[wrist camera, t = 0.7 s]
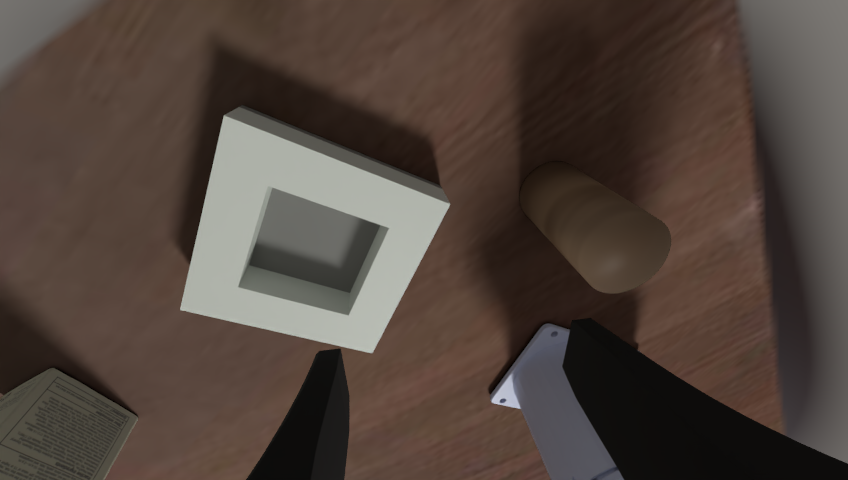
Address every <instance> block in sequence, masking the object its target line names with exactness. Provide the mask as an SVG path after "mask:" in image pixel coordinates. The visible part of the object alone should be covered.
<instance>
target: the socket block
mask: <svg viewBox="0 0 848 480" xmlns="http://www.w3.org/2000/svg"><path fill="white" fill-rule="evenodd" d="M449 206H450V203H449V201H448V199H447V197H446V195H445V193H444V191H443V189H442V187H441V186H440V185H438V184H435V183H433V182H430V181H428V180H425V179H423V178H421V177H418V176H416V175H413V174H411V173H408V172H406V171H403V170H401V169H398V168H396V167H393V166H391V165H389V164H386V163H384V162H381V161H379V160H376V159H374V158H371V157H369V156H366V155H364V154H362V153H359V152H357V151H354V150H352V149H349V148H347V147H344V146H342V145H339V144H337V143H334V142H332V141H330V140H327V139H325V138H322V137H320V136H317V135H315V134H312V133H310V132H307V131H305V130H303V129H300V128H298V127H295V126H293V125H290V124H288V123H285V122H283V121H280V120H278V119H276V118H273V117H271V116H268V115H266V114H263V113H261V112H258V111H256V110H253V109H251V108H248V107H246V106H244V105H242V106H240V107H238V108H236V109H234V110H233V111H231V112H229V113H227V114H225V115H224V117H223V121H222V126H221V130H220V135H219V139H218V144H217V148H216V153H215V157H214V161H213V166H212V170H211V175H210V179H209V184H208V188H207V193H206V197H205V201H204V206H203V210H202V215H201V219H200V224H199V228H198V233H197V237H196V241H195V246H194V250H193V255H192V259H191V264H190V268H189V273H188V277H187V281H186V286H185V290H184V295H183V299H182V304H181V308H180V310H183V311H188V312H192V313H196V314H201V315H205V316H210V317H214V318H218V319H223V320H227V321H232V322H236V323H240V324H245V325H249V326H254V327H258V328H262V329H267V330H271V331H276V332H280V333H285V334H289V335H293V336H298V337H302V338H307V339H311V340H315V341H320V342H324V343H329V344H333V345H337V346H342V347H346V348H351V349H355V350H359V351H364V352H368V353H373V351H374V349H375V347H376V345H377V343H378V341H379V340H380V338H381V336H382V334H383V332H384V330H385V328H386V326H387V324H388V322H389V320H390V319H391V317H392V315H393V313H394V311H395V309H396V307H397V305H398V303H399V301H400V299H401V298H402V296H403V294H404V292H405V290H406V288H407V286H408V284H409V282H410V280H411V278H412V277H413V275H414V273H415V271H416V269H417V267H418V265H419V263H420V261H421V259H422V257H423V255H424V254H425V252H426V250H427V248H428V246H429V244H430V242H431V240H432V238H433V236H434V234H435V233H436V231H437V229H438V227H439V225H440V223H441V221H442V219H443V217H444V215H445V213H446V212H447V210H448V208H449Z"/></svg>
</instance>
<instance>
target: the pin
mask: <svg viewBox="0 0 848 480" xmlns="http://www.w3.org/2000/svg"><path fill="white" fill-rule="evenodd" d="M519 201H520V206H521V208H522V210H523V212H524V213H525V214H526V216H527V217H528V218H529V219H530V220H531V221H532V222H533V223H534V224H535V225H536V226H537V228H538V229H539V230H540V231H541V232H542V233H543V234H544V235H545V236H546V237H547V238H548V240H549V241H550V242H551V243H552V244H553V245H554V246H555V247H556V248H557V249H558V251H559V252H560V253H561V254H562V255H563V256H564V257H565V258H566V259H567V260H568V261H569V263H570V264H571V265H572V266H573V267H574V268H575V269H576V270H577V271H578V272H579V274H580V275H581V276H582V277H583V278H584V279H585V280H586V281H587V282H588V283H589V284H590V285H591V286H592V287H593V288H594V289H596V290H598V291H600V292H603V293H621V292H626V291H629V290H631V289H634V288H636V287H638V286H640V285H642V284H643V283H645V282H646V281H647V280H649V279H650V278H651V277H652V276H653V275H654V274H655V273H656V272H657V271H658V270H659V269H660V268H661V266H662V265H663V263H664V262H665V260H666V258H667V256H668V253H669V251H670V246H671V235H670V232H669V229H668V227H667V226H666V225H665V224H664V223H663V222H662V221H661V220H659V219H657V218H656V217H654V216H653V215H651V214H649V213H648V212H646V211H644V210H643V209H641V208H640V207H638V206H636V205H635V204H633V203H632V202H630V201H628V200H627V199H625V198H623V197H622V196H620V195H619V194H617V193H615V192H614V191H612V190H610V189H609V188H607V187H606V186H604V185H602V184H601V183H599V182H597V181H596V180H594V179H593V178H591V177H589V176H588V175H586V174H584V173H583V172H581V171H580V170H578V169H576V168H575V167H573V166H571V165H570V164H568V163H565V162H561V161H553V162H548V163H545V164H543V165H541V166H539V167H537V168H536V169H534V170H533V171H532V172H531V173H530V174H529V175H528V176H527V178H526V179H525V181H524V182H523V184H522V187H521V190H520V195H519Z"/></svg>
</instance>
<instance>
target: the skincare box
mask: <svg viewBox="0 0 848 480" xmlns="http://www.w3.org/2000/svg"><path fill="white" fill-rule="evenodd" d="M137 420H138V417H137V416H136V415H134V414H133V413H131V412H129V411H128V410H126V409H124V408H123V407H121V406H119V405H118V404H116V403H114V402H113V401H111V400H109V399H107V398H106V397H104V396H102V395H100V394H99V393H97V392H95V391H94V390H92V389H90V388H89V387H87V386H86V385H84V384H82V383H81V382H79V381H77V380H75V379H73V378H71V377H69V376H67V375H65V374H64V373H62V372H60V371H59V370H57V369H55V368H50V369H48V370H46V371H45V372H43V373H41V374H39V375H37V376H35V377H34V378H32V379H30V380H28V381H27V382H25V383H23V384H21V385H20V386H18V387H16V388H15V389H13V390H11V391H10V392H8V393H7V394H5V395H3V396H2V397H0V480H104V479H105V478H106V476H107V474H108V472H109V470H110V469H111V467H112V465H113V463H114V461H115V459H116V458H117V456H118V454H119V452H120V451H121V449H122V447H123V445H124V443H125V442H126V440H127V438H128V436H129V434H130V433H131V431H132V429H133V427H134V425H135V424H136V422H137Z"/></svg>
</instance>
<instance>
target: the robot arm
mask: <svg viewBox="0 0 848 480" xmlns="http://www.w3.org/2000/svg"><path fill="white" fill-rule="evenodd" d="M552 332H553V333H552ZM490 399H491V402H492V403H494V404H499V405H504V406H509V407H514V408H519V409H521V410H522V413H523V415H524V417H525V420H526V422H527V424H528V427H529V429H530V431H531V434H532V436H533V439H534V441H535V443H536V446H537V448H538V450H539V453H540V455H541V457H542V460H543V462H544V464H545V467H546V469H547V472H548V474H549V476H550V479H551V480H848V464H847V463H845V462H842V461H840V460H838V459H835V458H833V457H830V456H828V455H826V454H823V453H821V452H819V451H817V450H815V449H812V448H810V447H808V446H806V445H803V444H801V443H799V442H797V441H795V440H793V439H791V438H789V437H787V436H785V435H782V434H780V433H778V432H776V431H774V430H772V429H770V428H768V427H766V426H764V425H762V424H760V423H758V422H756V421H754V420H752V419H750V418H748V417H746V416H744V415H742V414H741V413H739V412H737V411H735V410H733V409H731V408H730V407H728V406H726V405H724V404H722V403H720V402H719V401H717V400H715V399H713V398H712V397H710V396H708V395H706V394H705V393H703V392H701V391H700V390H698V389H696V388H695V387H693V386H691V385H690V384H688V383H687V382H685V381H683V380H682V379H680V378H678V377H677V376H675V375H674V374H672V373H671V372H669V371H667V370H666V369H664V368H663V367H661V366H660V365H658V364H657V363H655V362H654V361H652V360H651V359H649V358H648V357H646V356H645V355H643V354H642V353H641V352H640V351H638V350H636V349H635V348H633V347H632V346H630V345H629V344H627V343H626V342H625V341H623V340H622V339H620V338H619V337H617V336H616V335H615V334H613V333H612V332H610V331H609V330H607V329H606V328H604V327H603V326H601V325H600V324H598V323H597V322H595V321H594V320H592V319H591V318H588V319H580V320H572V323H571V328H570V330H569V329H566V328H563V327H560V326H556V325H553V324H544V325H543V326H542V327H541V328H540V329H539V330H538V332H537V333H536V334H535V336H534V337H533V338H532V340H531V341H530V342H529V344H528V345H527V346H526V348H525V349H524V350H523V352H522V353H521V355H520V356H519V357H518V359H517V360H516V361H515V363H514V364H513V365H512V367H511V368H510V369H509V371H508V372H507V373H506V375H505V376H504V377H503V379H502V380H501V381H500V383H499V384H498V385H497V387H496V388H495V389H494V391H493V392H492V394H491V395H490ZM348 438H349V391H348V386H347V380H346V375H345V370H344V364H343V359H342V354H341V349H333V350H324V351H319V352H318V353H317V354H316V356H315V359H314V361H313V363H312V366H311V368H310V370H309V372H308V375H307V377H306V379H305V381H304V383H303V385H302V387H301V389H300V391H299V393H298V395H297V397H296V399H295V400H294V402H293V404H292V406H291V408H290V410H289V412H288V413H287V415H286V417H285V419H284V421H283V422H282V424H281V426H280V427H279V429H278V431H277V432H276V434H275V436H274V437H273V439H272V441H271V442H270V444H269V446H268V447H267V449H266V451H265V452H264V454H263V455H262V457H261V458H260V460H259V461H258V463H257V464H256V466H255V467H254V469H253V470H252V472H251V473H250V475H249V476H248V478H247V479H246V480H344V476H345V467H346V457H347V448H348Z"/></svg>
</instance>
